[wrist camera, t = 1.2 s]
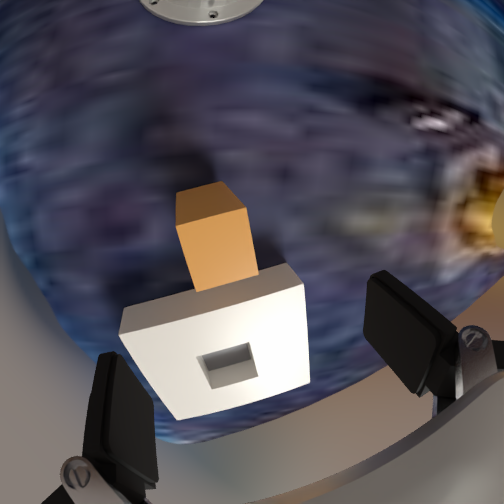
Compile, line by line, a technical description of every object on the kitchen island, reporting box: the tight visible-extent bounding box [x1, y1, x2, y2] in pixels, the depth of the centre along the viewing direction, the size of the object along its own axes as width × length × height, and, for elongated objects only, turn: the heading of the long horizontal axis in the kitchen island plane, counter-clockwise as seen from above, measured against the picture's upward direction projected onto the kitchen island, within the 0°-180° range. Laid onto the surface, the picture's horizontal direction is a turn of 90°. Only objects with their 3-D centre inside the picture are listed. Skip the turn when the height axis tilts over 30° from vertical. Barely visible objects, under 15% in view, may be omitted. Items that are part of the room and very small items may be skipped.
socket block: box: [119, 263, 310, 420], centre depth 30 cm, size 16×18×4 cm
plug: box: [176, 181, 259, 292], centre depth 20 cm, size 4×4×10 cm
